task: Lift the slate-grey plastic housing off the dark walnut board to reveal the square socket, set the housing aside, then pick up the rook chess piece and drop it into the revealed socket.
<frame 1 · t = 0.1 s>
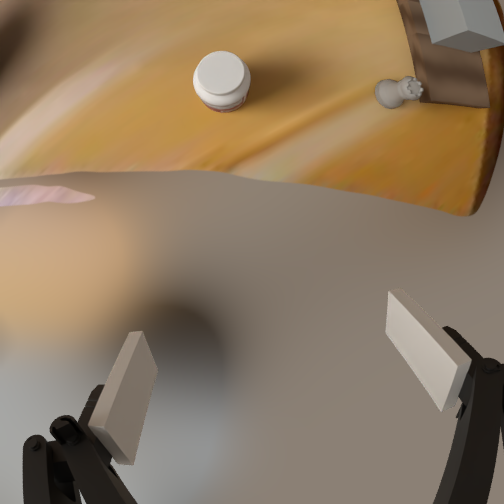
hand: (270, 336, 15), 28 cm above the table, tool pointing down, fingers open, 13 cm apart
rook chess piece: (386, 94, 37), on the table
socket board: (441, 48, 34), on the table
housing: (446, 23, 30), point 3 cm above the table, touching socket board
pill bottle: (224, 91, 36), on the table
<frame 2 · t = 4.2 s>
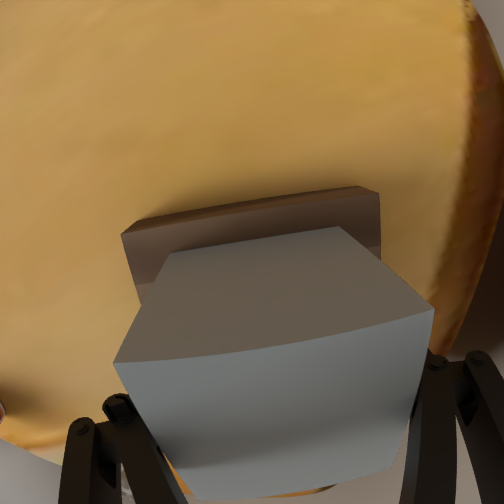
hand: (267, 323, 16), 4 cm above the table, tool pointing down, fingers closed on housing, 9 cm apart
socket board: (269, 339, 21), on the table
housing: (266, 314, 17), point 3 cm above the table, touching gripper, socket board
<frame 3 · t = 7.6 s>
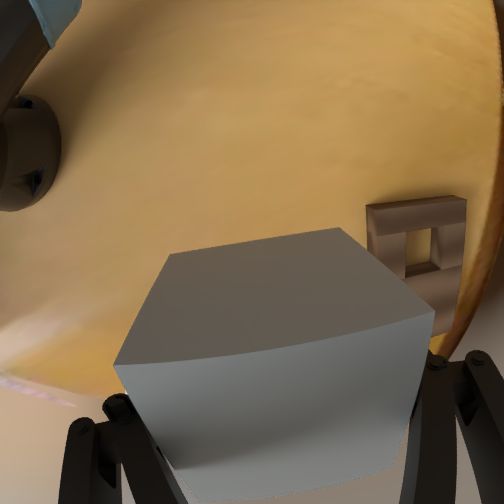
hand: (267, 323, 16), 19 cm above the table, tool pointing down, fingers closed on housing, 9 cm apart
socket board: (412, 272, 38), on the table
housing: (266, 315, 17), point 18 cm above the table, touching gripper
when the fingers open (2 cm above the table, at t = 11.2 s): housing drops 2 cm, on the table.
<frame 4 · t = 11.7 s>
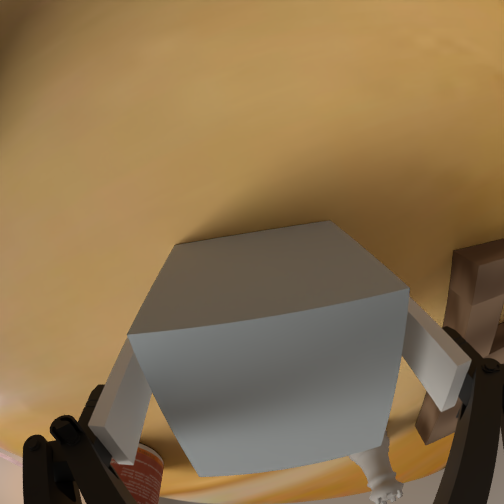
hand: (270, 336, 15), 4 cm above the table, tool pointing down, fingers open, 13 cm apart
rook chess piece: (364, 436, 25), on the table
socket board: (489, 336, 22), on the table
housing: (263, 302, 19), on the table
pill bottle: (135, 453, 24), on the table
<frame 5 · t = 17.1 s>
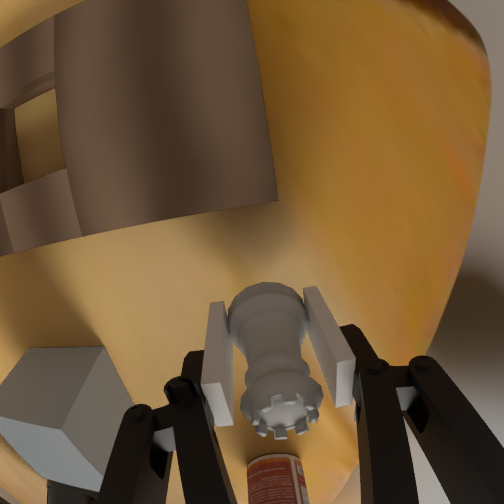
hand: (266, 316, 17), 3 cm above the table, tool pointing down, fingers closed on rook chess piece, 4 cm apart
rook chess piece: (265, 311, 18), point 3 cm above the table, touching gripper
socket board: (95, 114, 16), on the table
housing: (83, 385, 23), on the table
pill bottle: (274, 463, 28), on the table
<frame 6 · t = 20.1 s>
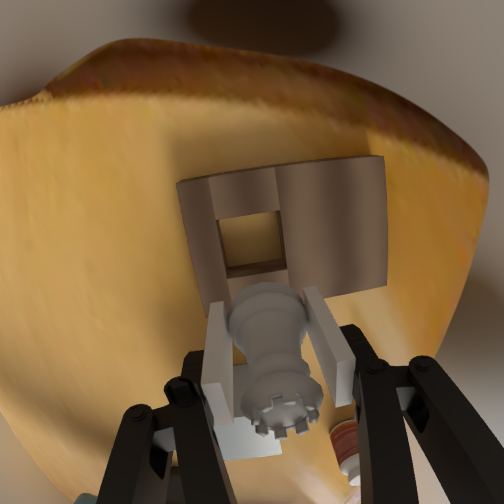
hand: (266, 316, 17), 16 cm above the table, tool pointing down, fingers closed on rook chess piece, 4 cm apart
rook chess piece: (265, 311, 18), point 15 cm above the table, touching gripper
socket board: (288, 230, 32), on the table
housing: (238, 389, 39), on the table
pill bottle: (345, 428, 44), on the table
when the fingers open (3 cm above the table, at t = 23.0 s): rook chess piece drops 3 cm, resting in socket board.
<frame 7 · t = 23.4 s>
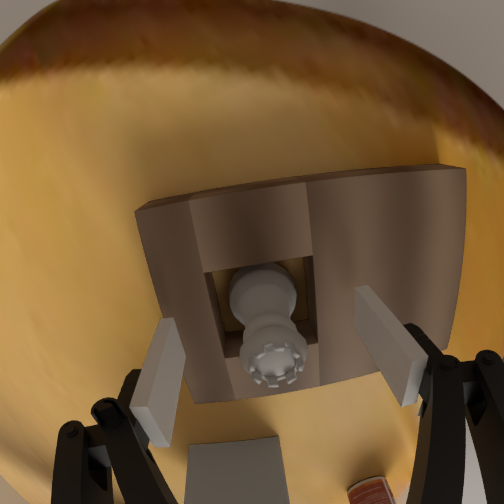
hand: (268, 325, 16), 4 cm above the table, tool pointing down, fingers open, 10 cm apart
rook chess piece: (260, 288, 21), resting in socket board
socket board: (319, 279, 20), on the table
housing: (241, 462, 27), on the table
pill bottle: (366, 484, 33), on the table
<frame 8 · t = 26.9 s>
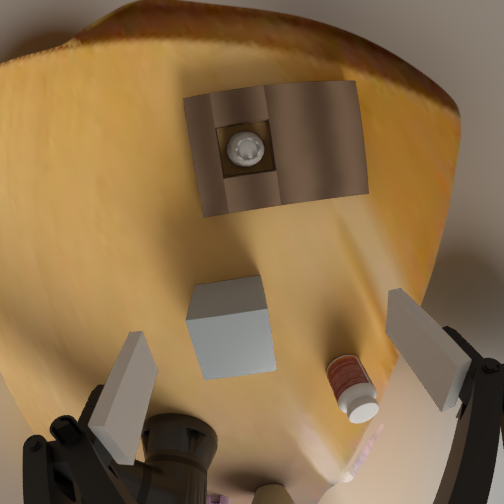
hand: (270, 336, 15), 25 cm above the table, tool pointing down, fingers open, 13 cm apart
rook chess piece: (244, 149, 36), resting in socket board
socket board: (277, 144, 36), on the table
plant pot: (270, 488, 62), on the table
housing: (233, 309, 43), on the table
pill bottle: (342, 366, 48), on the table
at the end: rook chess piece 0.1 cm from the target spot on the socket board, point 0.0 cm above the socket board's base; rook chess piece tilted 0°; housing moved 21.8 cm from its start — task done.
